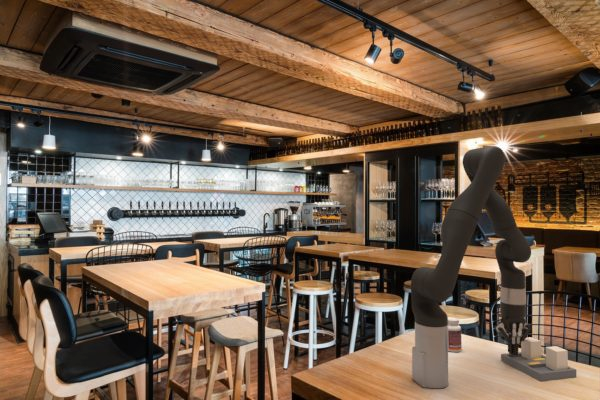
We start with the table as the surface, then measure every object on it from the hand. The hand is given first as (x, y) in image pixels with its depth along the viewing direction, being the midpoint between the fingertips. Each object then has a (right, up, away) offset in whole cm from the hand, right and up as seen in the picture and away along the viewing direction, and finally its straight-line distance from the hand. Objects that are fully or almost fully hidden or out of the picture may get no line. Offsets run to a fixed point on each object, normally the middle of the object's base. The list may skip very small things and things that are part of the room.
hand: (513, 354), depth 128 cm
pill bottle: (-15, -4, +14) cm, 20 cm away
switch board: (+6, -3, -3) cm, 7 cm away
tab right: (+10, -2, -7) cm, 12 cm away
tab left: (+7, -2, +2) cm, 7 cm away
